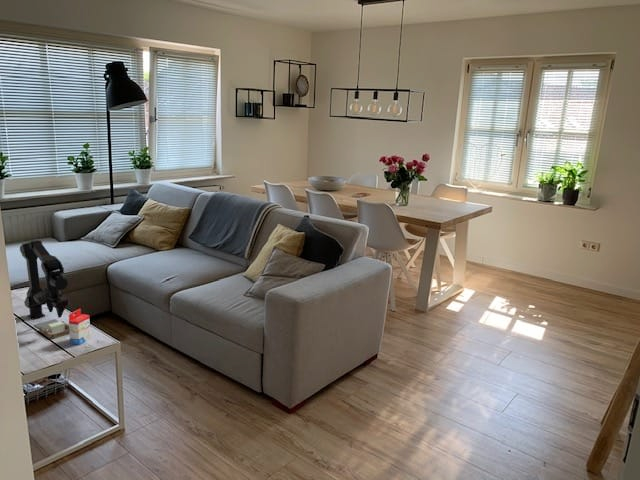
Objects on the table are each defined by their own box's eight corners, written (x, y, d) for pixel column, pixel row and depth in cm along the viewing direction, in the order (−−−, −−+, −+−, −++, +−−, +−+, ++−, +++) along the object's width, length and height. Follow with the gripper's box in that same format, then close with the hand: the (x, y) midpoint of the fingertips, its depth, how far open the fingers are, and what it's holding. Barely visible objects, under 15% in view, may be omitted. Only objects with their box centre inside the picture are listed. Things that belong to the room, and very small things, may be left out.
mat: (34, 325, 246) (34, 324, 246) (55, 319, 254) (55, 319, 254) (41, 330, 241) (41, 329, 241) (62, 324, 249) (62, 323, 249)
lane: (39, 331, 240) (39, 327, 240) (62, 324, 249) (62, 321, 248) (51, 339, 233) (51, 335, 232) (75, 332, 241) (75, 328, 240)
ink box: (79, 345, 228) (77, 315, 225) (69, 343, 229) (67, 314, 226) (91, 337, 236) (89, 309, 233) (82, 336, 237) (80, 307, 234)
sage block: (48, 332, 240) (47, 324, 239) (61, 328, 245) (60, 321, 244) (52, 334, 238) (51, 326, 237) (64, 330, 242) (64, 323, 241)
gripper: (26, 283, 235) (29, 313, 239) (43, 293, 224) (46, 325, 227) (50, 278, 243) (52, 307, 247) (68, 287, 232) (70, 318, 236)
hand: (55, 314), depth 239 cm, fingers open, 9 cm apart
